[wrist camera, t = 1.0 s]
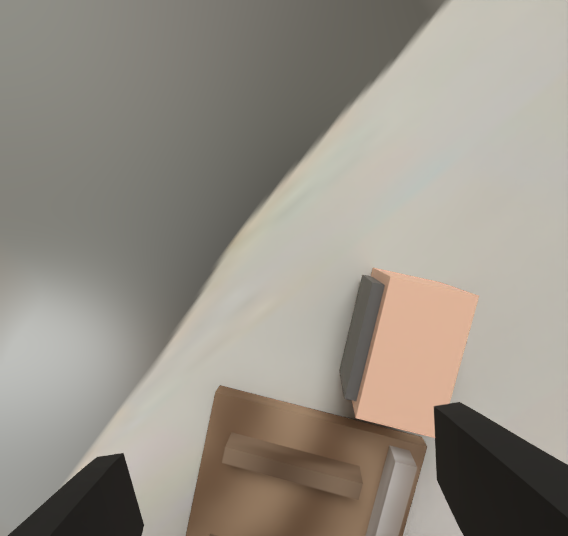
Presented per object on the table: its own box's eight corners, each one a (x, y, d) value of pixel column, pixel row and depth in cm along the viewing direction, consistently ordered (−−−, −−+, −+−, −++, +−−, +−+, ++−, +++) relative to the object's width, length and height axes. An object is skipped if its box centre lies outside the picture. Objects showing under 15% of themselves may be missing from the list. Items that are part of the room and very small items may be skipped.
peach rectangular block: (439, 282, 20) (479, 295, 15) (410, 391, 21) (439, 438, 16) (362, 265, 21) (377, 273, 16) (337, 374, 21) (343, 414, 16)
